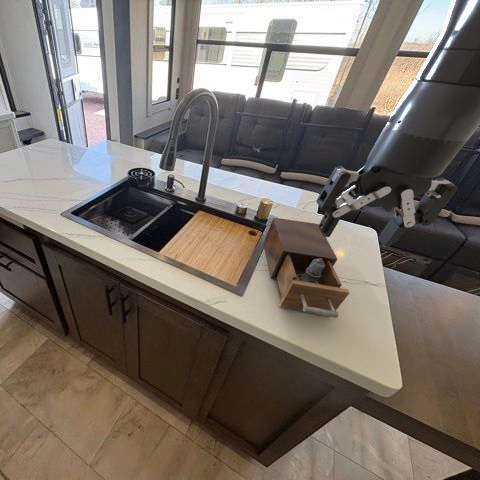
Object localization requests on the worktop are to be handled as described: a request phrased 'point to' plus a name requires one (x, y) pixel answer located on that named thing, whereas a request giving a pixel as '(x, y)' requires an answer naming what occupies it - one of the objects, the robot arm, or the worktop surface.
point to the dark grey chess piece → (312, 272)
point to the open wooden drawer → (309, 287)
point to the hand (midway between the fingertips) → (353, 238)
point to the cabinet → (295, 243)
